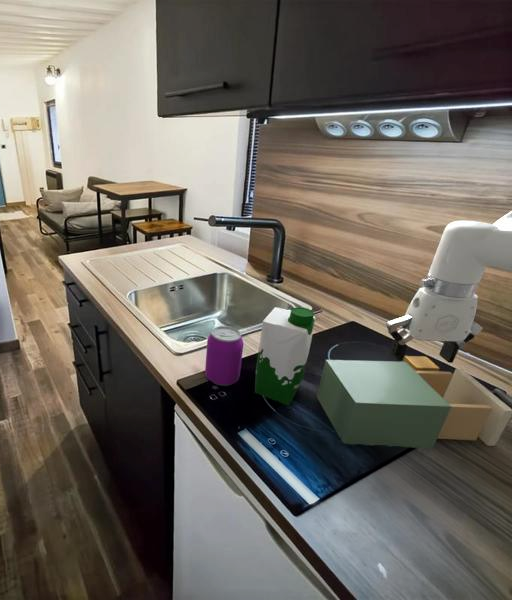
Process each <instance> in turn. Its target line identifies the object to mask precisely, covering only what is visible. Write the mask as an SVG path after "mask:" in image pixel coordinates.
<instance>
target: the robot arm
mask: <svg viewBox="0 0 512 600" xmlns="http://www.w3.org/2000/svg"><path fill="white" fill-rule="evenodd" d="M487 267H490V268H491V267H492V268H497V269H500V270H506V271H509V272H512V210H511V211H509V212H508V213H506V214H505V215H503V216H502V217H500V218H499V219H497V220H496V221H495V222H494V223H493V224H492V223H489V222H484V221H477V220H456V221H452V222H450V223H449V224H447V225H446V226H445V228H444V229H443V232H442V235H441V238H440V241H439V243H438V246H437V249H436V252H435V254H434V257H433V260H432V263H431V265H430V268H429V269H428V273H427V275H426V277H425V278H424V279H420V280H419V284H418V285H419V286H420V287H419V289H418V290H417V292H416V293H415V295H414V296H413V298H412V300H411V302H410V303H409V305H408V307H407V309H406V312H405V314H404V316H400V317H398V318H395V319H392V320H389V321H387V322H386V328H387V330H388V331H387V332H388V334H389V335H390V336H391V337H392V338H393V339H394V340H393V343H392V346H391V348H390V354H391V356H393V358H395V359H396V360H397V362H403V360H404V357H405V356H406V355H405V354H406V353H407V349H408V344H407V343H409V342H410V341H413V339H414V340H416V341H428V342H429V341H430V342H443V344H442V346H441V348H440V351H439V356H440V357H441V358H442V359H443V360H445V361H446V362H447V363H449V364H453V363H454V361H455V359H456V356H457V354H458V352H459V351H460V348H464V347H465V346H466V343H468V342H469V341H471V340H473V339H474V338H475V336H477V335H478V334H479V333H480V332H481V331H482V330H484V327H483V326H481V325H480V324H478V323H477V322H475V321H474V320H475V317H476V312H477V308H478V302H479V301H478V299H479V296H478V294H475V293H476V291H477V289H478V287H479V284H480V282H481V280H482V278H483V276H484V273H485V271H486V269H487ZM400 327H401V329H399V330H398V328H400Z"/></svg>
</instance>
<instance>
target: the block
mask: <svg viewBox="0 0 512 600" xmlns="http://www.w3.org/2000/svg"><path fill="white" fill-rule="evenodd" d="M402 362H406V363H408V364H409V365H410V366H411V367H412V368H413V369H414V370H415V371H440V369H441V368H440V367H439V366H438V365H436V363H434V362H433V361H432V360H431V359H430V358H428V357H427V356H423V355H422V356H420V355H419V356H418V355H404V357H403V360H402Z"/></svg>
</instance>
